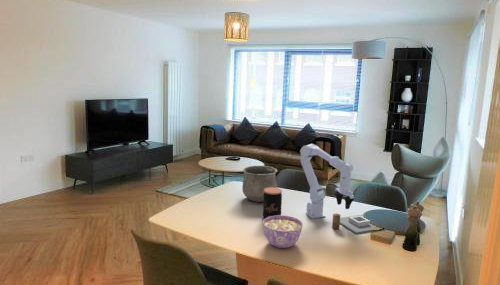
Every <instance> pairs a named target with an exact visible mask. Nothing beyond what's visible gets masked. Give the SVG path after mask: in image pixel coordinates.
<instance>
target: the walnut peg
mask: <svg viewBox="0 0 500 285" xmlns="http://www.w3.org/2000/svg"><path fill="white" fill-rule="evenodd" d="M340 218H341V214H340V213H332V223H331V228H332V229H333V230H336V231H338V230H340V227H341V226H340V225H341V224H340Z"/></svg>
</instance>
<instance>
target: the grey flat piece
mask: <svg viewBox="0 0 500 285" xmlns="http://www.w3.org/2000/svg"><path fill="white" fill-rule="evenodd" d="M363 216H364V214H358V215H351V216H344V217H342V216H341V217H340V225H341V226H342V227H344V228H346V229H347V230H349V231H350V232H352V233H354V234H355V235H359V234H365V233H371V232H374V231H373V230H374V228H375V227H376V226H374V225H372V224H370V220H371V219H370V220H368V219H366V218H364V217H363Z"/></svg>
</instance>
